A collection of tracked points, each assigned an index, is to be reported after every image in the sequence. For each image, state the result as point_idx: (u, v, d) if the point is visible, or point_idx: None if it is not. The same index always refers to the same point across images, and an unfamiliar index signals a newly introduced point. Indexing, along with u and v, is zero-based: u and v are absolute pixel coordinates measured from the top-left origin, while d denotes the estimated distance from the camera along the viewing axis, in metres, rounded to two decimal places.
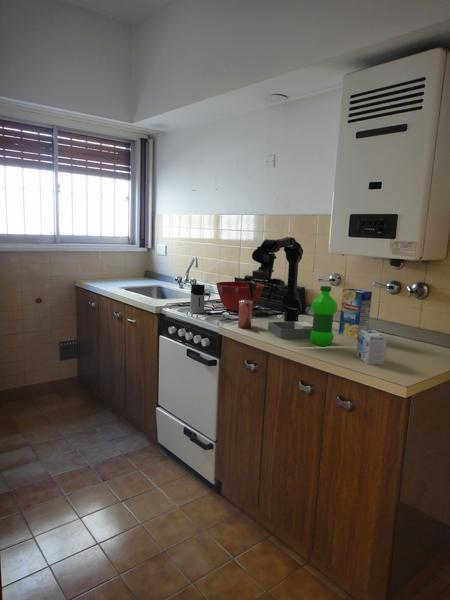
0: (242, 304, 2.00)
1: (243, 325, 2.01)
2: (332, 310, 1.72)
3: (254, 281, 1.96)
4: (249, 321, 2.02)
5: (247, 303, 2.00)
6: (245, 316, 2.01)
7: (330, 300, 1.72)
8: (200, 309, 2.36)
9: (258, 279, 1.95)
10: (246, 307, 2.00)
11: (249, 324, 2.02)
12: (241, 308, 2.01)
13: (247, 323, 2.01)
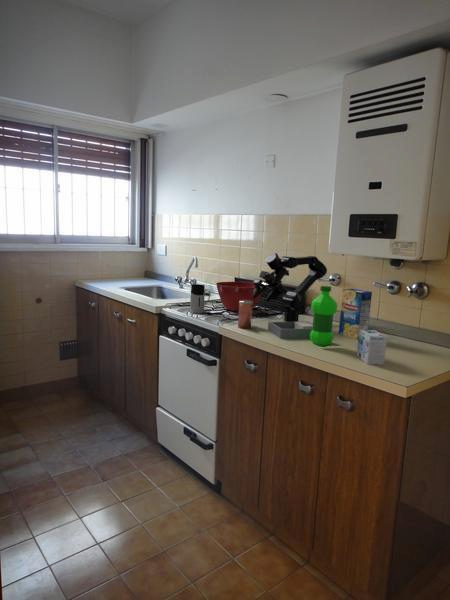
0: (242, 304, 2.00)
1: (243, 325, 2.01)
2: (332, 310, 1.72)
3: (261, 285, 2.13)
4: (249, 321, 2.02)
5: (247, 303, 2.00)
6: (245, 316, 2.01)
7: (330, 300, 1.72)
8: (200, 309, 2.36)
9: None
10: (246, 307, 2.00)
11: (249, 324, 2.02)
12: (241, 308, 2.01)
13: (247, 323, 2.01)
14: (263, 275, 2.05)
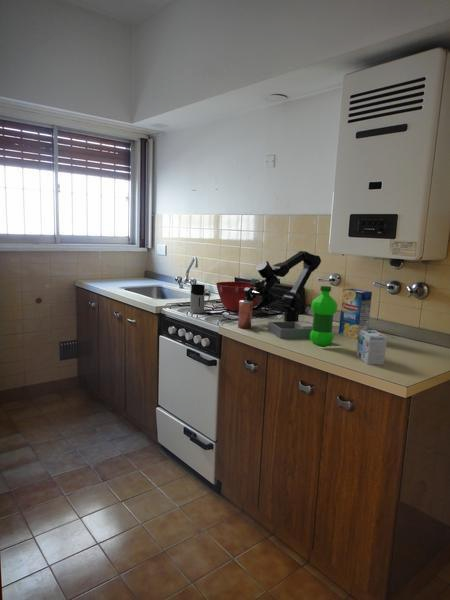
0: (242, 304, 2.00)
1: (243, 325, 2.01)
2: (332, 310, 1.72)
3: (252, 293, 2.11)
4: (249, 321, 2.02)
5: (247, 303, 2.00)
6: (245, 316, 2.01)
7: (330, 300, 1.72)
8: (200, 309, 2.36)
9: None
10: (246, 307, 2.00)
11: (249, 324, 2.02)
12: (241, 308, 2.01)
13: (247, 323, 2.01)
14: (253, 283, 2.03)
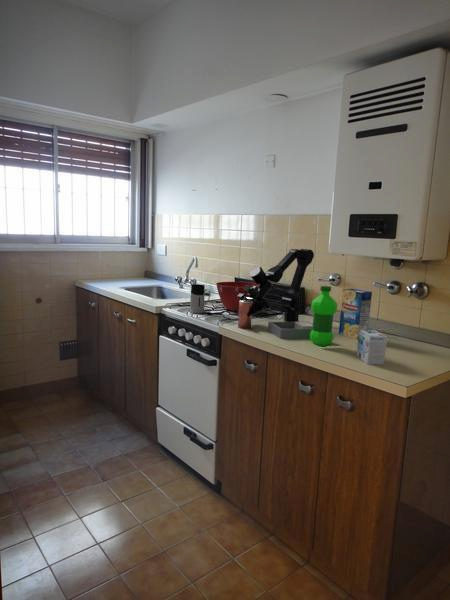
0: (242, 304, 2.00)
1: (243, 325, 2.01)
2: (332, 310, 1.72)
3: None
4: (249, 321, 2.02)
5: (247, 303, 2.00)
6: (245, 316, 2.01)
7: (330, 300, 1.72)
8: (200, 309, 2.36)
9: None
10: (246, 307, 2.00)
11: (249, 324, 2.02)
12: (241, 308, 2.01)
13: (247, 323, 2.01)
14: (247, 289, 2.01)
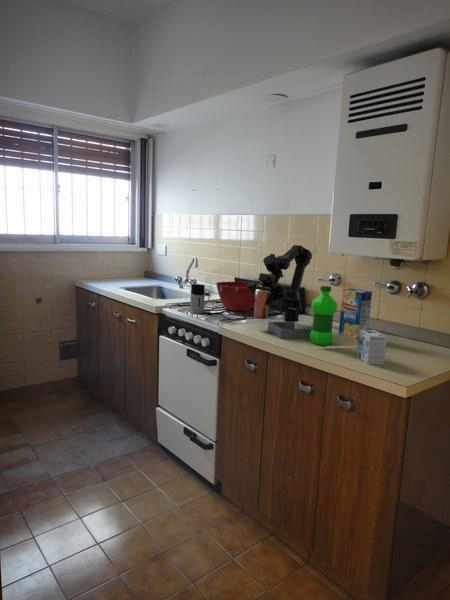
0: (260, 293, 1.92)
1: (262, 315, 1.93)
2: (332, 310, 1.72)
3: None
4: (267, 311, 1.94)
5: (265, 292, 1.92)
6: (264, 306, 1.93)
7: (330, 300, 1.72)
8: (200, 309, 2.36)
9: None
10: (264, 296, 1.92)
11: (266, 314, 1.95)
12: (259, 297, 1.92)
13: (265, 312, 1.94)
14: (264, 278, 1.93)
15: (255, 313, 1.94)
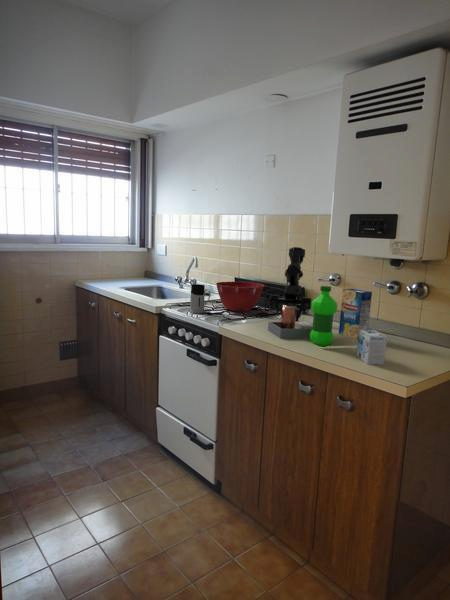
0: (291, 309, 1.86)
1: None
2: (332, 310, 1.72)
3: (279, 301, 1.94)
4: (294, 326, 1.90)
5: (295, 308, 1.88)
6: (293, 322, 1.88)
7: (330, 300, 1.72)
8: (200, 309, 2.36)
9: None
10: (294, 312, 1.88)
11: None
12: (289, 314, 1.87)
13: (294, 328, 1.89)
14: (292, 290, 1.87)
15: None
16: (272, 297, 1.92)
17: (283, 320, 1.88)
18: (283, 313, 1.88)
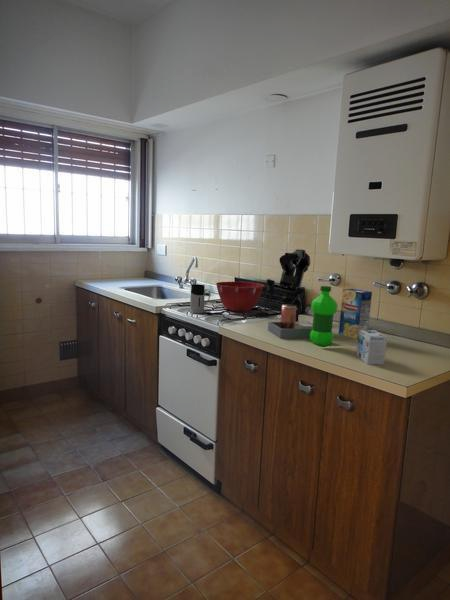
0: (290, 309, 1.86)
1: None
2: (332, 310, 1.72)
3: (274, 286, 2.03)
4: (294, 326, 1.90)
5: (295, 307, 1.87)
6: (293, 322, 1.88)
7: (330, 300, 1.72)
8: (200, 309, 2.36)
9: None
10: (294, 312, 1.87)
11: None
12: (289, 314, 1.87)
13: (294, 328, 1.89)
14: (289, 280, 1.96)
15: None
16: (268, 282, 2.01)
17: (283, 320, 1.88)
18: (283, 313, 1.88)
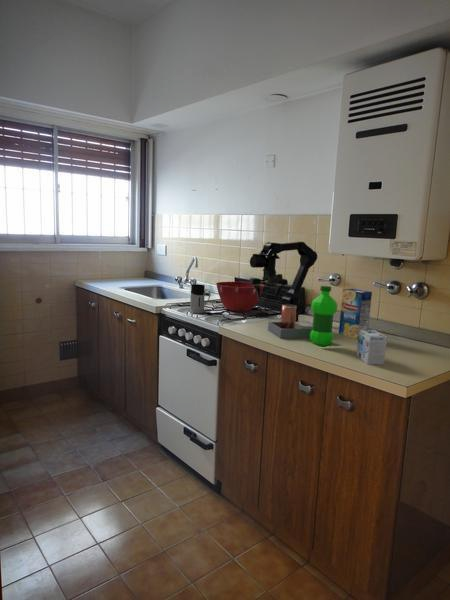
0: (291, 309, 1.86)
1: None
2: (332, 310, 1.72)
3: (259, 283, 2.11)
4: (294, 326, 1.90)
5: (295, 308, 1.87)
6: (293, 322, 1.88)
7: (330, 300, 1.72)
8: (200, 309, 2.36)
9: None
10: (294, 312, 1.87)
11: None
12: (289, 314, 1.87)
13: (294, 328, 1.89)
14: (276, 282, 2.05)
15: None
16: (255, 283, 2.08)
17: (283, 320, 1.88)
18: (283, 313, 1.88)
